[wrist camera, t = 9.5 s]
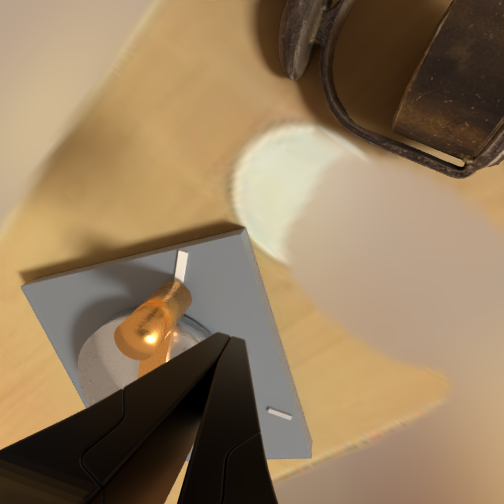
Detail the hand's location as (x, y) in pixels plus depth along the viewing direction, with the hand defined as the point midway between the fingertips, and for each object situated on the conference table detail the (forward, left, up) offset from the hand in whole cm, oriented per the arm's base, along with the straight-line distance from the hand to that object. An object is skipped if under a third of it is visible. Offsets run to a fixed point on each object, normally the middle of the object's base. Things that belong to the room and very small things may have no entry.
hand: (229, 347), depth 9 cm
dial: (+8, -11, -11) cm, 18 cm away
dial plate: (+9, -12, -13) cm, 20 cm away
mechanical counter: (-7, +9, -13) cm, 18 cm away
